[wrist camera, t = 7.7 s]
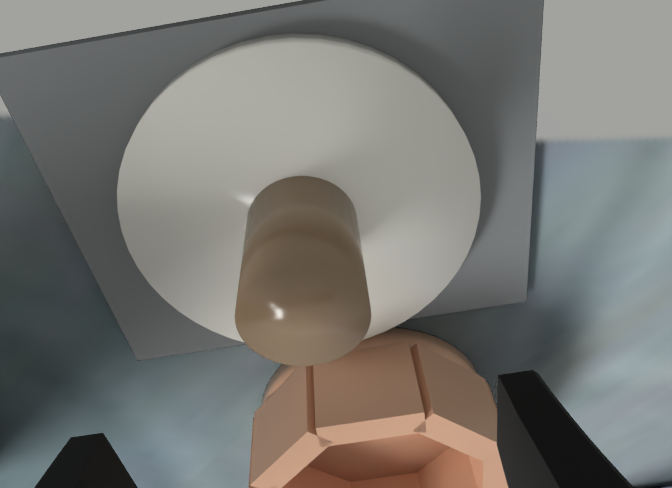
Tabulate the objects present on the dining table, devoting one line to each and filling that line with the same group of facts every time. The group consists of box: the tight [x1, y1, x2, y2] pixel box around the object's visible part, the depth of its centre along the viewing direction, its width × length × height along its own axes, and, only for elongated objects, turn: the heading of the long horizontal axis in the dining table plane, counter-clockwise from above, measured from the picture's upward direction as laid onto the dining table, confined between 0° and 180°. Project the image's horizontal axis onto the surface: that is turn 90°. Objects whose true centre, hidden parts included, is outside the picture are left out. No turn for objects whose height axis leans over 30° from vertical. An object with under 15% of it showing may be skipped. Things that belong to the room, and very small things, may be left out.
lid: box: [117, 33, 481, 366], centre depth 16 cm, size 10×10×5 cm
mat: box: [0, 0, 544, 361], centre depth 17 cm, size 14×11×1 cm
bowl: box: [249, 328, 508, 488], centre depth 22 cm, size 9×9×4 cm
